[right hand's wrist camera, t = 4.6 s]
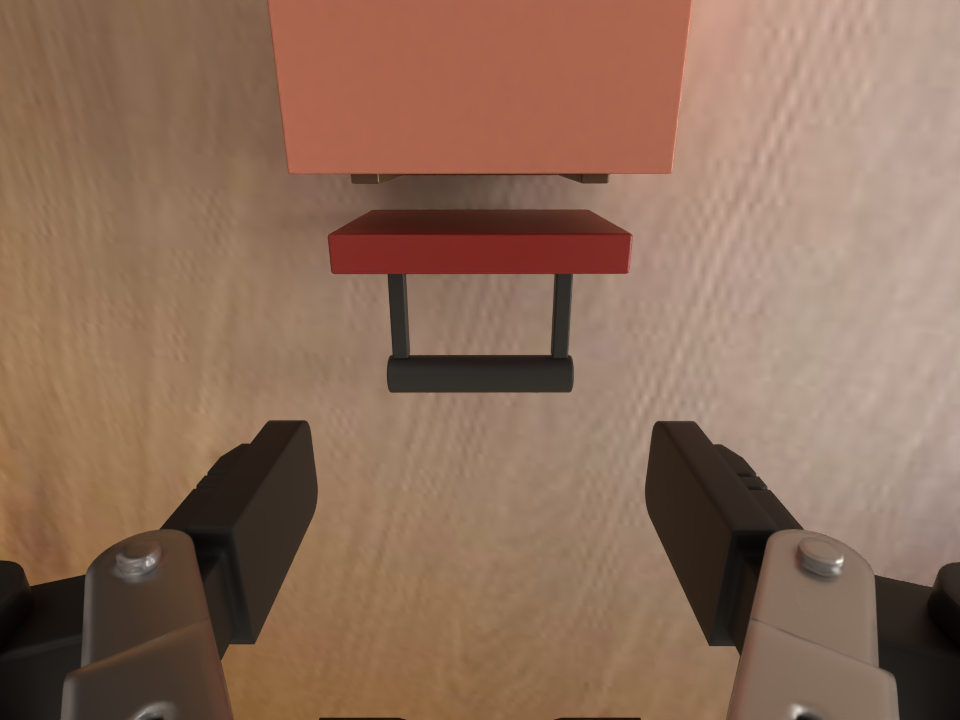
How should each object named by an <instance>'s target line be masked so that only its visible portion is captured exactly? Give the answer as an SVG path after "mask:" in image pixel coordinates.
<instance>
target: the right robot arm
mask: <svg viewBox="0 0 960 720" xmlns="http://www.w3.org/2000/svg"><path fill="white" fill-rule="evenodd" d="M317 495H318V486H317V477H316V469H315V461H314V453H313V445H312V438H311V430H310V426H309V424H308V422H307V421H305V420H271V421H268V422H267V423H266V424H265V426H264V427H263V428H262V429H261V431H260V432H259V433H258V434H257V436H256V437H255V438H254V440H253V441H252V442H251V443H250V444H241V445H239V446H237V447H236V448H234V449H233V450H231V451H229V452H228V453H226V454H225V455H223V456H221V457H220V458H219V460H218V461H217V462H216V463H215V464H214V465H213V467H212V468H211V469H210V470H209V471H208V474H207V476H204V477H203V478H202V480H201V481H200V482H199V483H198V484H197V488H196V489H193V490H192V491H191V493H190V494H189V495H188V496H187V497H186V499H185V500H184V501H183V502H182V503H181V504H180V506H179V507H178V508H177V509H176V510H175V512H174V513H173V514H172V515H171V516H170V517H169V519H168V520H167V521H166V522H165V523H164V525H163V526H162V527H161V528H160V529H159V530H153V531H148V532H144V533H140V534H137V535H134V536H131V537H129V538H127V539H124V540H122V541H120V542H118V543H116V544H115V545H113V546H111V547H110V548H108V549H107V550H105V551H104V552H103V553H102V554H100V555H99V556H98V557H97V558H96V559H95V560H94V561H93V562H92V564H91V565H90V566H89V568H88V570H87V572H86V575H82V576H77V577H72V578H67V579H63V580H58V581H53V582H49V583H44V584H39V585H35V586H29V583H28V580H27V578H26V575H25V573H24V570H23V568H22V567H21V566H20V565H19V564H17V563H15V562H11V561H0V720H234V717H233V712H232V708H231V704H230V699H229V695H228V690H227V686H226V681H225V677H224V673H223V668H222V664H221V659H222V658H223V656H224V654H225V652H226V650H227V648H228V646H229V644H255V642H256V640H257V638H258V636H259V634H260V631H261V629H262V627H263V625H264V623H265V620H266V618H267V616H268V614H269V612H270V609H271V607H272V605H273V603H274V601H275V598H276V596H277V594H278V592H279V590H280V588H281V585H282V583H283V581H284V579H285V577H286V574H287V572H288V570H289V568H290V566H291V563H292V561H293V559H294V557H295V555H296V552H297V550H298V548H299V546H300V544H301V541H302V539H303V537H304V535H305V533H306V531H307V528H308V526H309V524H310V522H311V520H312V517H313V515H314V512H315V509H316V504H317ZM645 499H646V506H647V511H648V514H649V516H650V519H651V521H652V523H653V525H654V527H655V529H656V532H657V534H658V536H659V538H660V540H661V542H662V545H663V547H664V549H665V551H666V553H667V555H668V558H669V560H670V562H671V564H672V566H673V568H674V571H675V573H676V575H677V577H678V579H679V581H680V583H681V586H682V588H683V590H684V592H685V594H686V596H687V599H688V601H689V603H690V605H691V607H692V609H693V612H694V614H695V616H696V618H697V620H698V622H699V625H700V627H701V629H702V631H703V633H704V635H705V638H706V640H707V642H708V644H709V646H735V647H736V649H737V651H738V653H739V655H740V660H739V664H738V668H737V673H736V677H735V681H734V686H733V690H732V695H731V699H730V704H729V708H728V712H727V717H726V720H960V562H958V563H950V564H947V565H945V566H943V567H942V568H941V569H940V570H939V572H938V575H937V577H936V580H935V583H934V585H933V588H932V587H927V586H923V585H918V584H913V583H909V582H904V581H899V580H894V579H890V578H885V577H881V576H877V575H874V572H873V570H872V568H871V566H870V565H869V564H868V562H867V561H866V560H865V559H864V558H863V557H862V556H861V555H860V554H858V553H857V552H856V551H855V550H853V549H852V548H850V547H849V546H847V545H845V544H844V543H842V542H840V541H838V540H836V539H833V538H831V537H829V536H826V535H823V534H820V533H816V532H812V531H807V530H804V529H803V528H802V527H801V525H800V524H799V523H798V522H797V521H796V520H795V518H794V517H793V516H792V515H791V514H790V513H789V511H788V510H787V509H786V508H785V507H784V506H783V504H782V503H781V502H780V501H779V500H778V499H777V497H776V496H775V495H774V494H773V493H772V491H771V490H768V489H767V486H766V484H765V483H764V482H763V481H762V480H761V479H760V477H756V473H755V472H754V470H753V469H752V468H751V467H750V466H749V465H748V463H747V462H746V461H745V460H744V459H743V458H742V457H741V456H739V455H737V454H736V453H734V452H733V451H731V450H729V449H728V448H726V447H724V446H723V445H713V444H712V442H711V441H710V440H709V439H708V437H707V436H706V435H705V434H704V432H703V431H702V430H701V429H700V427H699V426H698V425H697V424H696V423H695V422H694V421H657V422H656V423H655V425H654V427H653V431H652V437H651V445H650V453H649V461H648V468H647V476H646V484H645ZM319 720H405V719H401V718H319ZM555 720H641V718H559V719H555Z"/></svg>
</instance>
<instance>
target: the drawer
mask: <svg viewBox="0 0 960 720" xmlns="http://www.w3.org/2000/svg"><path fill="white" fill-rule="evenodd" d="M402 175H559V176H562V177H565V178H568V179H571V180H574V181H577V182H580V183H608V182H609V174H351V180H352V183H354V184H378V183H381V182H384V181H387V180H390V179H393V178H396V177H399V176H402ZM632 238H633V236H632V234H630V233H629V232H627V231H625V230H623V229H622V228H620V227H618V226H616V225H614V224H613V223H611V222H609V221H607V220H606V219H604V218H602V217H600V216H598V215H597V214H595V213H593V212H591V211H589V210H372V211H370V212H368V213H366V214H364V215H363V216H361V217H359V218H357V219H355V220H354V221H352V222H350V223H348V224H347V225H345V226H343V227H341V228H339V229H338V230H336V231H334V232H332V233H331V234H329V235H328V244H329V254H330V264H331V271H332V273H333V274H388V288H389V303H390V319H391V335H392V351H393V355H391V356H390V357H389V359H388V365H387V384H388V389H389V391H390V392H392V393H402V392H571V391H572V388H573V381H574V367H573V360H572V357H571V356H570V355H568V346H569V330H570V314H571V297H572V281H573V274H626V273H628V272H629V268H630V258H631V248H632ZM406 274H555V276H554V297H553V317H552V338H551V355H409V354H410V344H409V324H408V304H407V285H406Z"/></svg>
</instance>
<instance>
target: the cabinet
mask: <svg viewBox="0 0 960 720" xmlns="http://www.w3.org/2000/svg"><path fill="white" fill-rule="evenodd" d="M267 1H268V9H269V17H270V25H271V34H272V42H273V50H274V58H275V67H276V75H277V83H278V91H279V100H280V108H281V116H282V124H283V132H284V141H285V149H286V157H287V165H288V172H289V174H670V173H672V168H673V159H674V151H675V142H676V134H677V126H678V117H679V109H680V101H681V92H682V84H683V76H684V67H685V59H686V50H687V42H688V34H689V25H690V17H691V9H692V0H267Z"/></svg>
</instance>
